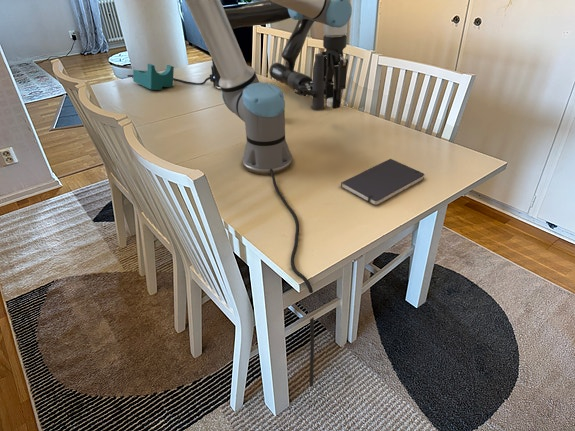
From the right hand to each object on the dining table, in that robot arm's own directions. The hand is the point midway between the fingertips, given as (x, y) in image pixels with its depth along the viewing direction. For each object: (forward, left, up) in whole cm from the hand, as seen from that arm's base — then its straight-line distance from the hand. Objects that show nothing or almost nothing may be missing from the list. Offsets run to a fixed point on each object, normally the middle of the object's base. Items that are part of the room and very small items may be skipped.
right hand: (332, 105), depth 143 cm
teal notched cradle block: (+67, +68, -8) cm, 96 cm away
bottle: (+19, 0, -8) cm, 21 cm away
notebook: (-42, -3, -8) cm, 43 cm away
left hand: (+17, -1, -2) cm, 17 cm away
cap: (0, 0, +2) cm, 2 cm away
